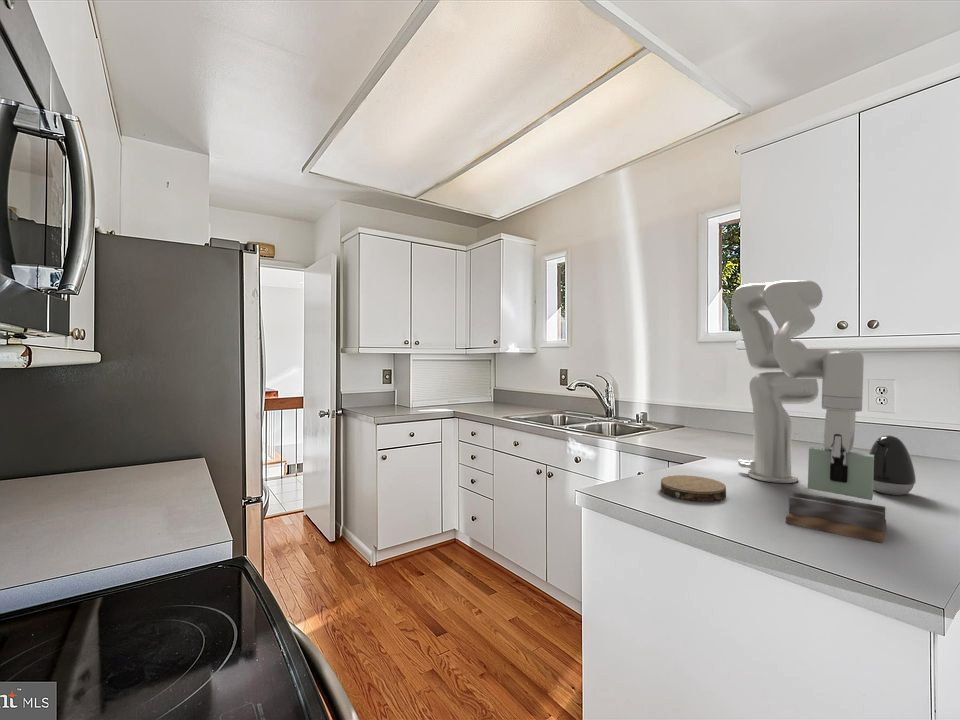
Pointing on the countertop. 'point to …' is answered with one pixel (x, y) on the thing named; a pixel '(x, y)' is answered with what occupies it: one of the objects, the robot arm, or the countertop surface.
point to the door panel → (856, 481)
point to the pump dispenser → (892, 466)
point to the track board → (837, 516)
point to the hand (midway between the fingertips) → (839, 479)
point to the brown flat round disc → (693, 488)
